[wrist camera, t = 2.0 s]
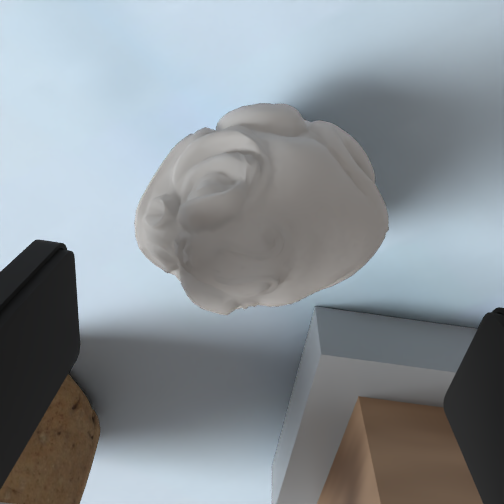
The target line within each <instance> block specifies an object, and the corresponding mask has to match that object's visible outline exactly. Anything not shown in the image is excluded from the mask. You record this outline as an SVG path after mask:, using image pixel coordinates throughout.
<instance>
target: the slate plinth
mask: <svg viewBox="0 0 504 504" xmlns="http://www.w3.org/2000/svg"><path fill="white" fill-rule="evenodd" d="M476 331H477V329H476V328H469V327H461V326H454V325H447V324H440V323H432V322H425V321H418V320H411V319H404V318H396V317H389V316H382V315H375V314H367V313H360V312H353V311H346V310H339V309H331V308H324V307H317V306H315V308H314V312H313V315H312V319H311V323H310V327H309V330H308V334H307V338H306V341H305V345H304V349H303V353H302V356H301V360H300V364H299V367H298V371H297V375H296V379H295V382H294V386H293V390H292V393H291V397H290V401H289V405H288V408H287V412H286V416H285V419H284V423H283V427H282V431H281V434H280V438H279V442H278V445H277V449H276V453H275V457H274V460H273V464H272V504H317V502H318V500H319V497H320V495H321V492H322V489H323V487H324V484H325V482H326V479H327V477H328V474H329V471H330V469H331V466H332V464H333V461H334V458H335V456H336V453H337V451H338V448H339V446H340V443H341V440H342V438H343V435H344V433H345V430H346V427H347V425H348V422H349V420H350V417H351V415H352V412H353V409H354V407H355V404H356V402H357V399H358V396H360V397H367V398H375V399H382V400H390V401H397V402H405V403H413V404H420V405H428V406H435V407H443V402H444V397H445V394H446V392H447V390H448V388H449V386H450V384H451V382H452V380H453V378H454V376H455V374H456V372H457V370H458V368H459V366H460V364H461V362H462V360H463V358H464V356H465V354H466V352H467V350H468V348H469V346H470V344H471V342H472V340H473V338H474V336H475V333H476ZM443 408H444V407H443Z"/></svg>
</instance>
